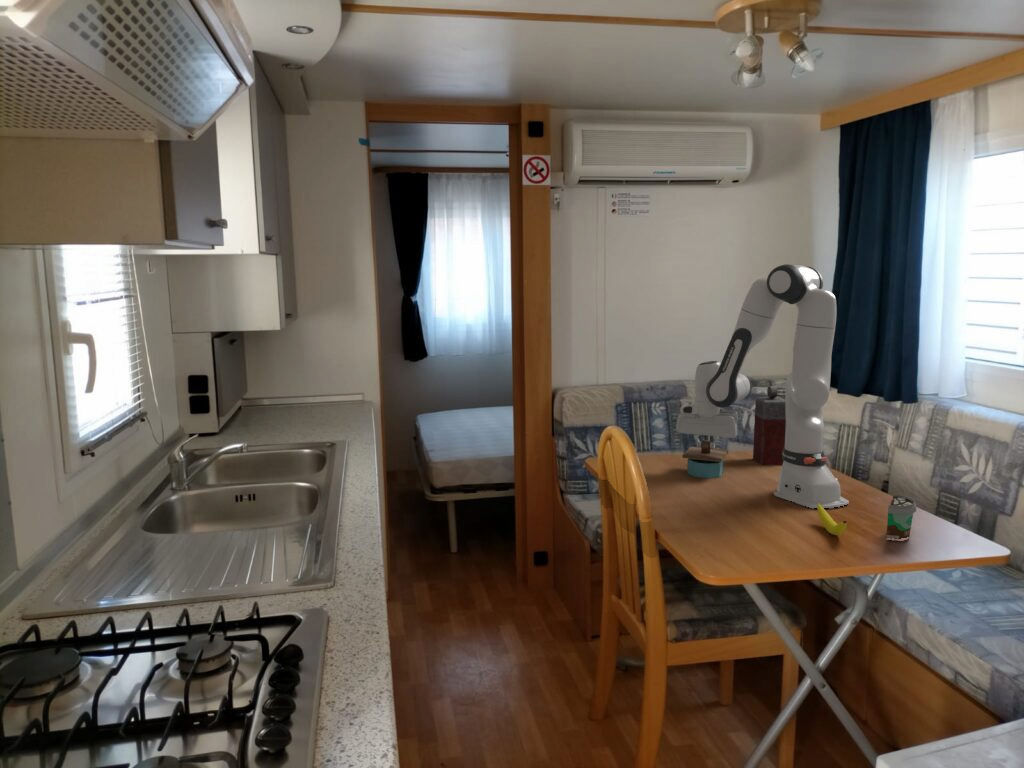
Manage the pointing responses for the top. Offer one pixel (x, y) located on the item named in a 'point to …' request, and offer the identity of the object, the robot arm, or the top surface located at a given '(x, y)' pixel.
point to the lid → (705, 452)
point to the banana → (830, 522)
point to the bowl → (704, 468)
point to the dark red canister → (769, 428)
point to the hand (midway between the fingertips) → (705, 447)
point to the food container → (900, 516)
